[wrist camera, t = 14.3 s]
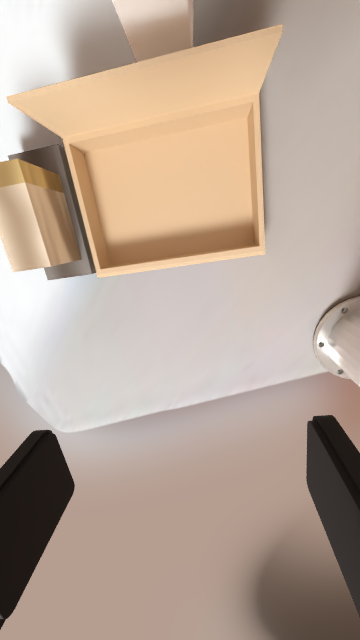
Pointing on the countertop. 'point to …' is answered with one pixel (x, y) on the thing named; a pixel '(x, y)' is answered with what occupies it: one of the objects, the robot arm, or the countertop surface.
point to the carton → (166, 153)
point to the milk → (156, 26)
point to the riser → (58, 163)
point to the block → (34, 217)
